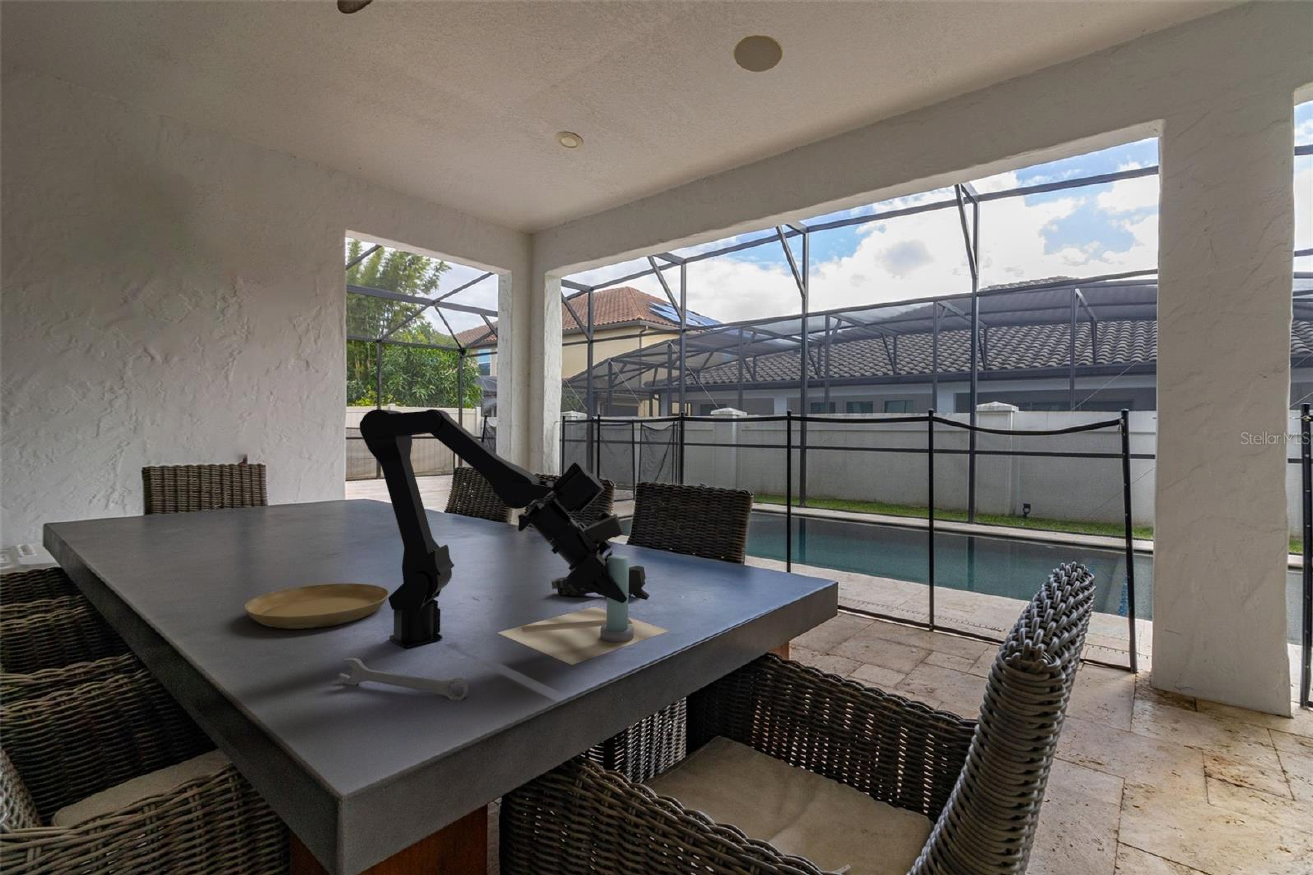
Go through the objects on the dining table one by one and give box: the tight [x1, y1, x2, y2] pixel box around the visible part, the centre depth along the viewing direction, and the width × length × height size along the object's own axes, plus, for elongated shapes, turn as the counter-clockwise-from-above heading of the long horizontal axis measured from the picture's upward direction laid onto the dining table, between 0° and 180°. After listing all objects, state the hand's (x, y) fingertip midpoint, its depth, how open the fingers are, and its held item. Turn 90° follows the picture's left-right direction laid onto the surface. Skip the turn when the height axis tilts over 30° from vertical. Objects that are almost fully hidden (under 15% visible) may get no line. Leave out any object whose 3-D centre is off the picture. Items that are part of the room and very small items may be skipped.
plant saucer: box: [244, 582, 390, 630], centre depth 116 cm, size 24×24×3 cm
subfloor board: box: [497, 606, 671, 666], centre depth 105 cm, size 22×20×1 cm
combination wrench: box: [338, 657, 469, 701], centre depth 82 cm, size 4×1×20 cm
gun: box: [551, 565, 651, 601], centre depth 130 cm, size 4×20×10 cm, turn 78°
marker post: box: [600, 554, 634, 643], centre depth 102 cm, size 6×6×14 cm
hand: (625, 597), depth 102 cm, fingers closed on marker post, 4 cm apart
